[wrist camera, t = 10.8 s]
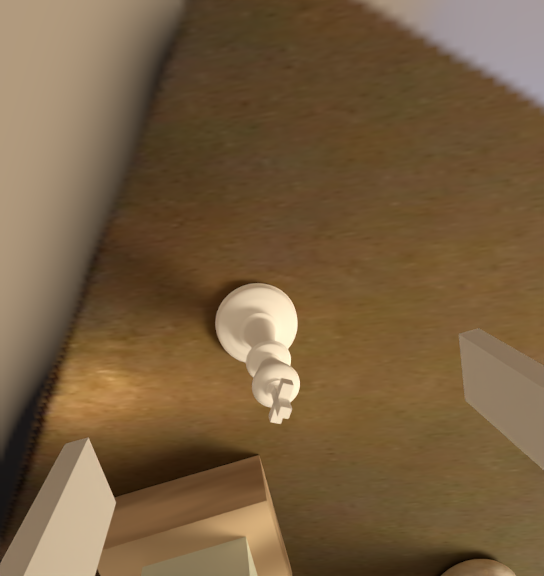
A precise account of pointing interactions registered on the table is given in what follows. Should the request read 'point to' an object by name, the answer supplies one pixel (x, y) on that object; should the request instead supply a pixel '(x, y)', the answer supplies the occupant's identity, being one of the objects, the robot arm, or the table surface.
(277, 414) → the chess piece
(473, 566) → the stacking toy
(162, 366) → the table surface
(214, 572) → the cube
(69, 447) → the robot arm
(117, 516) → the plinth
